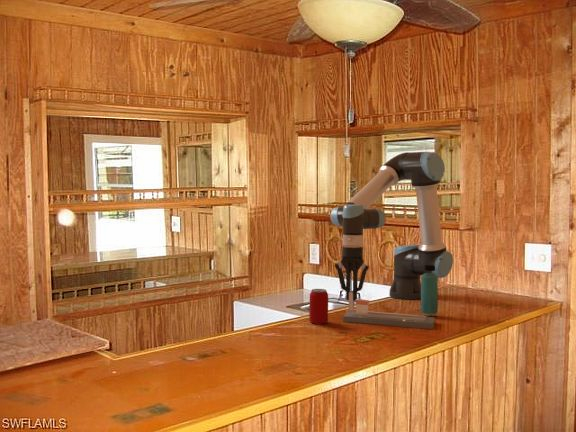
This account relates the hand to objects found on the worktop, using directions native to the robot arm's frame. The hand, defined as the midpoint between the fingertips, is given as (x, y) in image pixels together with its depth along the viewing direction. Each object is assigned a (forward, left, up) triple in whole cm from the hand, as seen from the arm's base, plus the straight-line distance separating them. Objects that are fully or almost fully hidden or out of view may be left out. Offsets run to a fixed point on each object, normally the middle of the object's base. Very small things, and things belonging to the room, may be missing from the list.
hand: (351, 308), depth 229 cm
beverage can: (+10, -10, -4) cm, 15 cm away
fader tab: (0, +4, -2) cm, 4 cm away
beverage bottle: (-15, +27, -4) cm, 31 cm away
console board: (0, +14, -4) cm, 15 cm away
